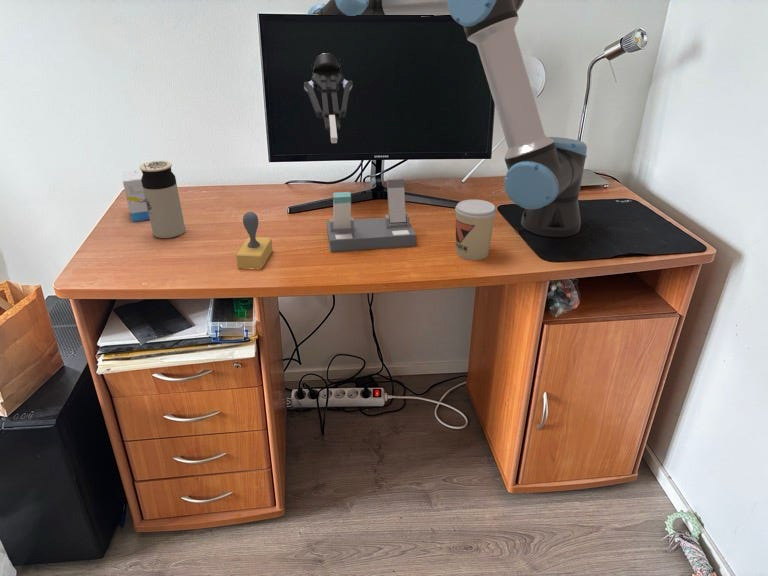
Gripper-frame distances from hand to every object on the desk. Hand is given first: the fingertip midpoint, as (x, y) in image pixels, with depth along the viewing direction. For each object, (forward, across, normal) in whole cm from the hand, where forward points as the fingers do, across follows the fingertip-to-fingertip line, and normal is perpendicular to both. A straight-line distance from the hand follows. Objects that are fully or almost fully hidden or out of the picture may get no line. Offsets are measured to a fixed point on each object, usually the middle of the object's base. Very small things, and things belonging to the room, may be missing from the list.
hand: (334, 140), depth 143 cm
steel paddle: (+22, -14, -3) cm, 26 cm away
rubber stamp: (+30, +21, -1) cm, 37 cm away
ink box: (+6, +52, -24) cm, 58 cm away
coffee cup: (+34, -30, +2) cm, 45 cm away
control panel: (+25, -7, -6) cm, 27 cm away
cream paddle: (+22, 0, -3) cm, 22 cm away
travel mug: (+16, +44, -15) cm, 49 cm away
